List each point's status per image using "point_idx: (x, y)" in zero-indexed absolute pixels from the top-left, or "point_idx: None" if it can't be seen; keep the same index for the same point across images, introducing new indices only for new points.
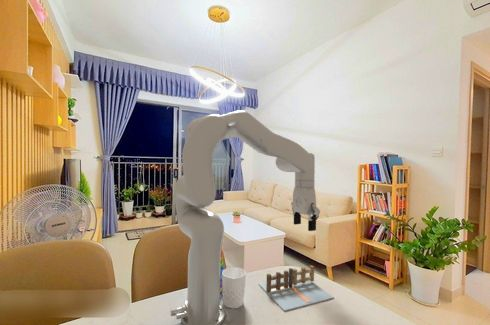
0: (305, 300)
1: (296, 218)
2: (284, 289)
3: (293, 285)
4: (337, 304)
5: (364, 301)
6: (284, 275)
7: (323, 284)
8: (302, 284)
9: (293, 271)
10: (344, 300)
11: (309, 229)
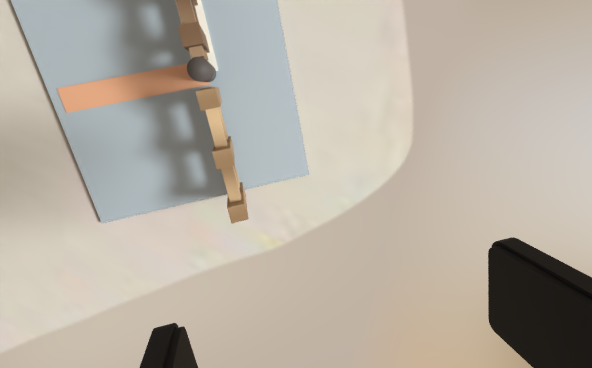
0: (75, 90)
1: (563, 318)
2: None
3: None
4: (57, 214)
5: (77, 319)
6: (182, 22)
7: (219, 230)
8: None
9: (204, 89)
10: (87, 254)
11: (149, 345)
